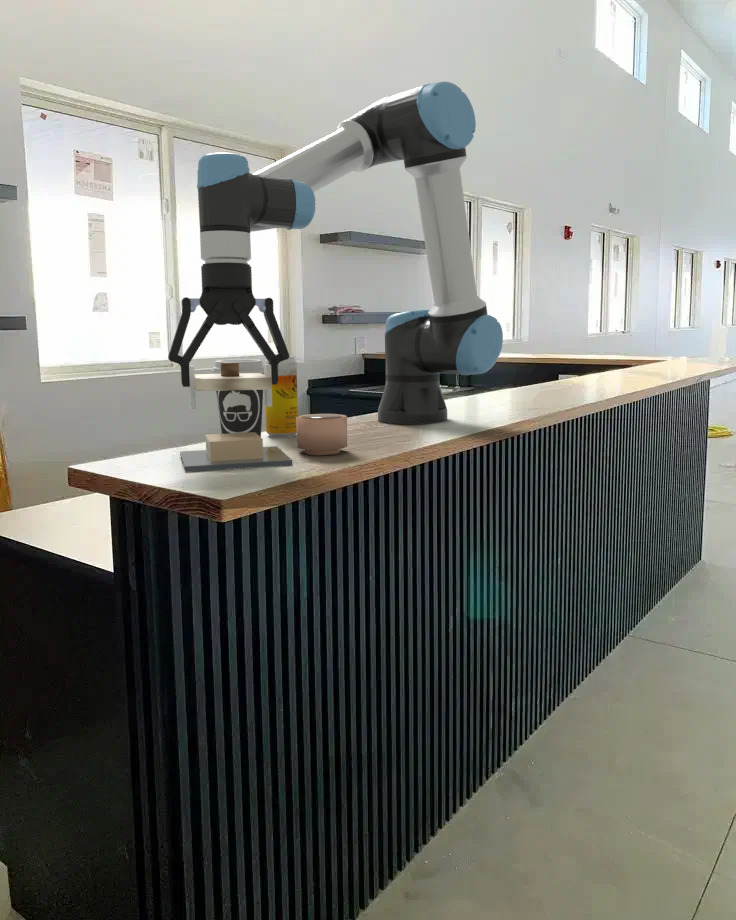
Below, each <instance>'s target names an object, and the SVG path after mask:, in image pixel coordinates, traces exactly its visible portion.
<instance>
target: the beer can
mask: <svg viewBox="0 0 736 920" xmlns="http://www.w3.org/2000/svg"><path fill="white" fill-rule="evenodd" d="M264 364H269V361H268V360H267V359H266V358H265V361H264V362H263V365H264ZM297 372H298V370H297V361H296V359H295V356H293V355H289V358H288V359H287V360H284V361H281V362H280V363H279V364H278V383H277V384H275V385H272V406H271V407H267V406H266V405H265V404H264V405H265V428H266V429H265V430H266V431H265V433H267V434H268V436H269V437H270V438H279V439H280V438H281V439H282V438H291V437H295V436H296V437H297V423H296V417H297V416H299V413H298V412H299V410H298V408H299V406H298V373H297Z"/></svg>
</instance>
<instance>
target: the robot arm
mask: <svg viewBox="0 0 736 920" xmlns="http://www.w3.org/2000/svg"><path fill="white" fill-rule="evenodd" d="M476 122H477V121H476V115H475V111H474V108H473V105H472V102H471V101H470V99H469V97H468V96H467V94H466V93H465V92H464V91H463V90H462V89H461V88H460V87H459V86H458V85H456V84H455V83H452V82H450V81H438V82H432V83H431V82H430V83H427V84H423V85H421V86H418V87H414V88H411V89H408V90H405V91H403V92H399V93H396V94H391V95H388V96H385V97H383V98H381V99H379V100H378V101H375V102H373V103H372V104H371V105H369V106H367V107H365V108H364V109H362V110H360V111H359V112H357V113H356V114H354V115H352V116H351V117H349V118H346V119H345V120H343V121H341V122H340V123H339V124H338V125H337V127H336V129H335V132H332V133H331V134H329V135H326V136H324V137H323V138H320V139H319V140H317V141H314V142H313V143H311V144H308V145H306V146H305V147H303V148H302V149H299V150H297V151H295V152H293V153H292V154H289V155H287V156H286V157H284V158H282V159H279V160H278V161H276V162H274V163H272V164H270V165H268V166H266V167H263V168H262V169H260V170H258V171H256V172H253V173H252V172H250V168H249V161H248V159H247V157H246V156H243V155H240V154H237V153H231V152H212V153H207V154H205V155H203V156H201V157H200V158H199V160H198V163H197V183H196V188H197V197H198V199H197V200H198V217H199V219H198V220H199V222H198V223H199V241H200V247H199V248H200V259H201V260H202V261H204V263H202V266H201V267H200V269H201V270H200V272H201V294H200V297H199V298H189V297H187V296H186V297H183V298H182V299H181V315H180V316H179V317H180V318H179V320H178V324H177V327H176V331H175V333H174V335H173V336H174V337H173V340H172V343H171V346H170V350H169V352H168V356H167V359H168V360H169V361H170V362H171V363H175V364H178V365H179V367H180V379H181V380H180V381H181V385H182V387H183V388H188V392H189V393H188V394H189V396H188V397H189V408H190V410H196V409H197V398H196V397H197V395H196V389H195V374H196V373H195V365H190V363H191V361H192V360H193V358H194V357H195V355H196V353H197V352H198V350H199V349H200V347H201V345H202V343H203V342H204V340H205V339H206V338H207V335H208V334H209V332H210V330H211V329H212V328H213V326H214V325H217V326H225V325H232V326H237V325H238V326H240V325H243V327H244V329H246V331H247V332H248V334H249V335H250V337H251V338H252V340H253V342H254V343H255V344H256V345H257V346H258V348H259V350H260V351H261V352H262V355H264V357H265V360H266V359H267V360H268V361H269V364H264V363H263V366H264V375H266V376H269V377H271V389H268V390H263V396H264V405H266V406H267V407H271V406H272V385H275V384H277V383H278V364H279V363H280V362H281V361H284V360H287V359H288V358H289V356H290V353H289V350H288V348H287V344H286V342H285V339H284V337H283V334H282V332H281V329H280V326H279V324H278V321H277V319H276V316H275V313H274V300H273V298H271V297H265V298H255V295H254V294H253V279H252V278H253V277H252V266H251V265H250V264H248V262H249V261H251V260H252V247H251V232H260V231H266V230H273V229H286V230H302V229H303V230H304V229H306V227H308V226H309V225H310V224H311V222H312V221H313V218H314V217H315V214H316V197H315V196H316V195H315V192H317V191H319V190H320V189H322V188H324V187H326V186H328V185H329V184H331V183H333V182H335V181H336V180H339V179H341V178H343V177H344V176H346V175H347V174H349V173H351V172H353V171H354V172H358V173H360V172H361V173H362V172H364V171H366V170H368V169H370V168H372V167H374V166H378V165H381V164H382V165H383V164H386V163H391V162H398V161H403V162H404V163H403V164H404V169H405V171H406V172H408V173H409V174H410V175H411V176H412V177H413V178H414V182H415V188H416V192H417V193H416V194H417V200H418V208H419V214H420V221H421V226H422V227H421V228H422V233H423V239H424V240H423V241H424V246H425V247H424V248H425V252H426V259H427V266H428V271H429V278H430V279H429V280H430V284H431V285H430V286H431V291H432V298H433V305H432V306H431V307H430V309H420V310H411V311H410V310H409V311H408V310H407V311H402V312H398V313H394V314H391V315H389V316H388V318H387V319H386V322H385V332H384V354H385V355H384V356H385V357H384V359H385V361H384V362H385V364H384V365H385V385H384V390H383V393H382V397H381V399H380V403H379V406H378V409H377V420H378V421H379V422H382V423H387V424H388V423H389V424H404V425H409V424H410V425H415V424H416V425H418V424H419V425H420V424H422V425H423V424H434V423H435V424H437V423H443V422H446V421H448V408H447V405H446V401H445V398H444V395H443V392H442V388H441V383H440V374H448V375H449V374H454V375H462V376H470V375H473V376H474V375H475V376H476V375H482V374H485V373H487V372H488V371H489V370H491V369H492V368H493V367H494V365H495V364H496V363H497V361H498V359H499V357H500V354H501V352H502V347H503V343H504V337H503V336H504V334H503V328H502V324H501V323H500V322H499V321H498V319H497V317H495V316H492V315H490V314H488V309H487V302H486V301H484V300H483V299H482V298H480V297H479V296H478V292H477V284H476V278H475V269H474V264H473V263H474V262H473V256H472V248H471V241H470V234H469V233H470V231H469V228H468V227H469V226H468V218H467V212H466V204H465V196H464V190H463V182H462V176H461V174H462V173H461V167H462V165H463V164H464V162H465V161H466V160H467V157H468V156H467V152H466V151H467V150H466V147H468V145H469V144H471V142H473V139H474V137H475V136H474V133H475V132H476V126H477V125H476ZM198 306H200V307H201V309H202V310H203V311H204V312H205V314H206V317H205V319H204V321H203V323H202V325H201V326H200V328H199V329H198V331H197V333H195V336H194V337H193V339H192V340H191V342H190V344H189V346H188V347H187V349H186V350H185V352H184V354H183V355H179V353H180V350H181V347H182V344H183V340H184V337H185V336H186V335H185V334H186V331H187V327H188V325H189V321H190V319H191V316H192V315H191V313H194V312H195V311H196V309H197V307H198ZM255 306H256V307H258V310H259V312H261V313H263V316H264V319H265V323H266V325H267V327H268V330H269V332H270V336H271V339H272V340H273V343H274V346H275V348H276V352H277V353H276V354H275V352H274V351H273V350H272V349H273V348H272V347H271V345H269V343H268V342H267V341H266V339H265V337H264V336H263V335H262V333H261V331H260V330H259V329H258V328H257V326H256V325H255V324H256V323H255V322H254V321H253V319H252V318H251V316H250V314H251V312H252V311H253V309H254V308H255ZM266 406H265V407H266Z"/></svg>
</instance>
